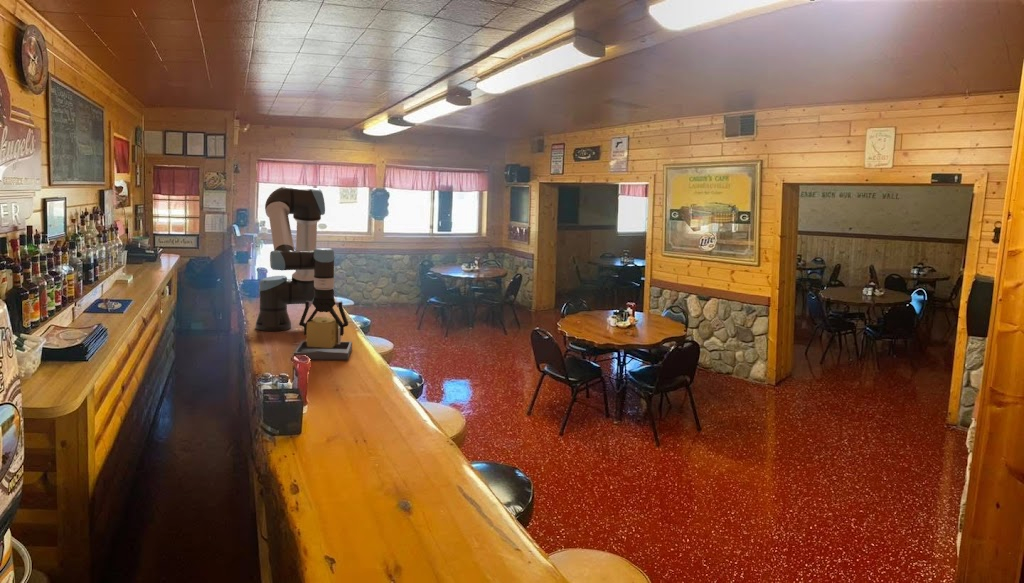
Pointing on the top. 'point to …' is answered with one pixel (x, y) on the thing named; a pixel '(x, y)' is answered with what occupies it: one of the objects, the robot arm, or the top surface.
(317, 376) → the top surface
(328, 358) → the tray
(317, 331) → the cheese
